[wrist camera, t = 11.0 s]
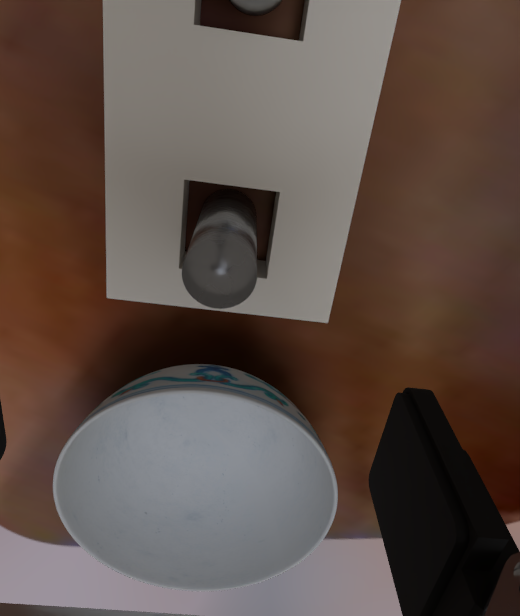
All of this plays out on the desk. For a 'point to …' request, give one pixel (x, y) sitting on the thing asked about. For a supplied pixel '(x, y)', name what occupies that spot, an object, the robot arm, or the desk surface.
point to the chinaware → (196, 481)
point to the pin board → (238, 140)
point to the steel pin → (223, 251)
